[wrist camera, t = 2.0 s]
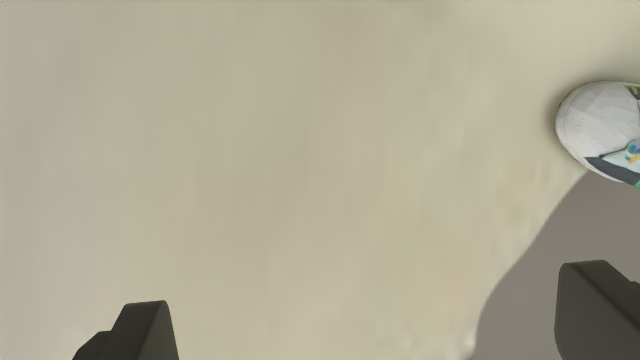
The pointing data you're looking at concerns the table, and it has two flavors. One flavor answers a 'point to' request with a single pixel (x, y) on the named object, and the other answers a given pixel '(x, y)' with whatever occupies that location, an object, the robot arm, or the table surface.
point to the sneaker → (603, 128)
